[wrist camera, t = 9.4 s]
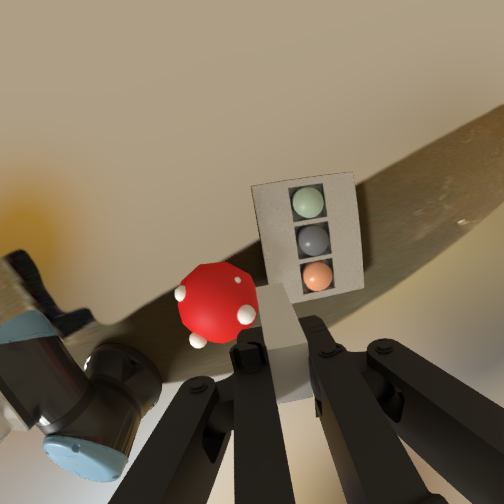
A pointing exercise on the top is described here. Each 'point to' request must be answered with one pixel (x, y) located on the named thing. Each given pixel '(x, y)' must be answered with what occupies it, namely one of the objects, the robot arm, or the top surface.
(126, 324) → the top surface
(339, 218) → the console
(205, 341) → the mushroom
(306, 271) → the button terracotta
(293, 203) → the button sage
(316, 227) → the button charcoal
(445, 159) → the top surface
